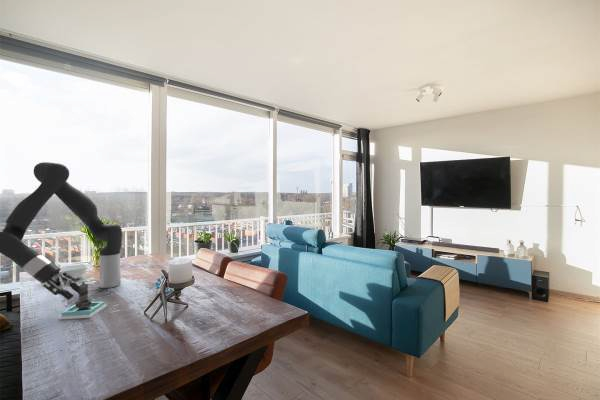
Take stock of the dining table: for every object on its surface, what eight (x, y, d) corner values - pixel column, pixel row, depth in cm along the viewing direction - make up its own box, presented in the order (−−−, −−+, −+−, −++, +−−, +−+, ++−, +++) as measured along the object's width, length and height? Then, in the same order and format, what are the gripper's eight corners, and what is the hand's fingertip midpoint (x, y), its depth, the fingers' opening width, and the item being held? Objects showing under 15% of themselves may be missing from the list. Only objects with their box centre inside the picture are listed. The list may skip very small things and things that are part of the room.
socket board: (78, 307, 124) (78, 302, 124) (106, 306, 125) (106, 300, 125) (59, 319, 112) (59, 313, 112) (90, 317, 114) (90, 311, 114)
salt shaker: (80, 307, 121) (80, 279, 121) (95, 307, 122) (95, 279, 122) (71, 313, 115) (70, 283, 115) (86, 312, 116) (86, 283, 116)
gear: (154, 291, 139) (157, 273, 146) (153, 297, 142) (156, 279, 149) (178, 291, 144) (180, 274, 150) (177, 297, 147) (178, 280, 154)
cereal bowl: (81, 274, 177) (81, 262, 177) (91, 278, 167) (91, 266, 167) (45, 280, 163) (45, 268, 163) (54, 286, 153) (54, 273, 153)
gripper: (39, 266, 108) (76, 292, 112) (58, 258, 122) (90, 282, 125) (22, 281, 106) (60, 308, 110) (43, 271, 120) (76, 295, 124)
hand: (76, 294), depth 118 cm, fingers open, 8 cm apart
